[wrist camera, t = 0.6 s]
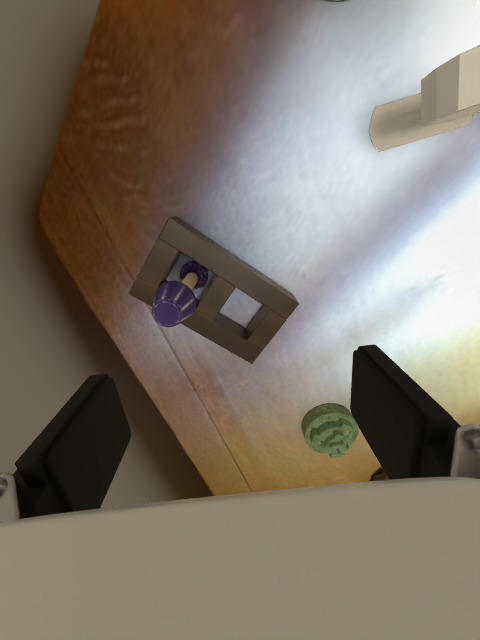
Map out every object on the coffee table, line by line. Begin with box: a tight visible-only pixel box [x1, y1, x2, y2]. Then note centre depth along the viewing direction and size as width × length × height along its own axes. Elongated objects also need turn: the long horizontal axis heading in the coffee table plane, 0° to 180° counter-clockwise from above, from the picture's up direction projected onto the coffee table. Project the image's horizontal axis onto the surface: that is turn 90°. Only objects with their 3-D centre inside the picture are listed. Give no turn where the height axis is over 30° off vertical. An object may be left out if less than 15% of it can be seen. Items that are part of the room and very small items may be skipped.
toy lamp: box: [152, 261, 208, 327], centre depth 34 cm, size 5×5×17 cm
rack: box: [129, 216, 299, 364], centre depth 41 cm, size 12×21×4 cm, turn 56°
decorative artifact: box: [302, 404, 358, 458], centre depth 51 cm, size 10×7×10 cm
